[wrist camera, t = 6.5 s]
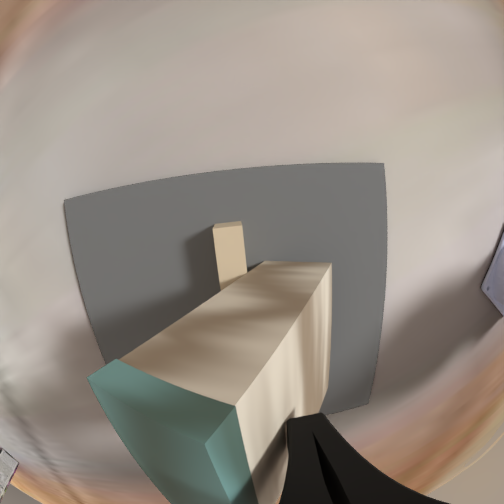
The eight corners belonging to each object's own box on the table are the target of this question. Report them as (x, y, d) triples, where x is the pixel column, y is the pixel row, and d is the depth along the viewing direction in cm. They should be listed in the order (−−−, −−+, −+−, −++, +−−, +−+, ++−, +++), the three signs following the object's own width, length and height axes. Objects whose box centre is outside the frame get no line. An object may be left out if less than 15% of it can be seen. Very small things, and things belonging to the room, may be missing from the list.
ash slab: (332, 261, 14) (204, 444, 4) (328, 388, 16) (252, 542, 6) (263, 259, 16) (86, 377, 6) (273, 379, 18) (175, 508, 8)
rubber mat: (380, 163, 16) (400, 161, 13) (366, 400, 20) (376, 417, 18) (67, 199, 15) (46, 202, 12) (138, 424, 19) (132, 443, 17)
